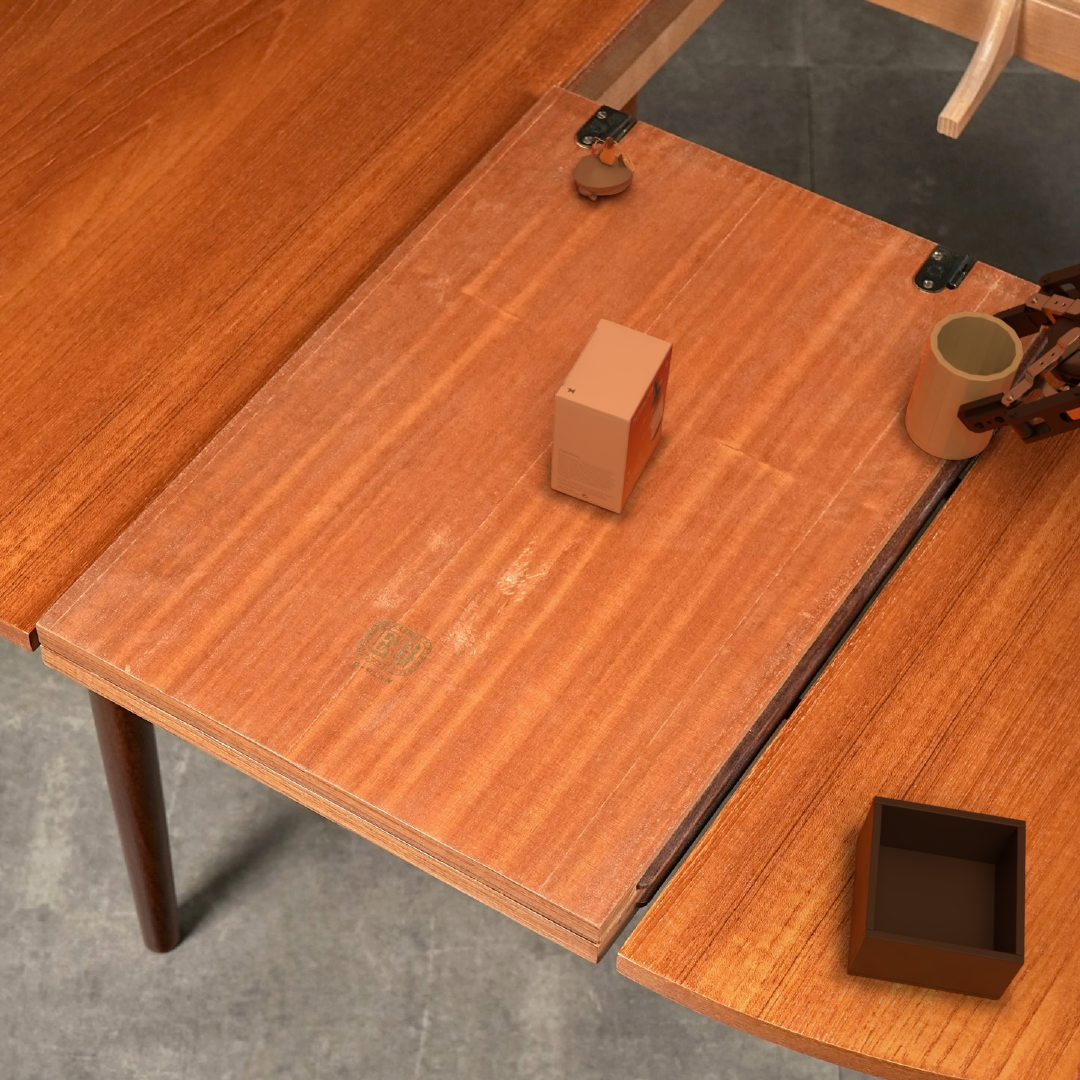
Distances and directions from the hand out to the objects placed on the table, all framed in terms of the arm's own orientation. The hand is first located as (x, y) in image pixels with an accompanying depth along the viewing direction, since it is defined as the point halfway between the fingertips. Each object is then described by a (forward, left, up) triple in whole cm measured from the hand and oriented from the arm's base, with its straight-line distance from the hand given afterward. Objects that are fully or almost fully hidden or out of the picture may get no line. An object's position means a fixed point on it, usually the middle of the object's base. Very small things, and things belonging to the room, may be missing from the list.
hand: (975, 376), depth 120 cm
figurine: (+35, +5, -6) cm, 36 cm away
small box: (+13, +23, -6) cm, 27 cm away
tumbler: (+1, 0, -6) cm, 6 cm away
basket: (-25, +29, -6) cm, 39 cm away
